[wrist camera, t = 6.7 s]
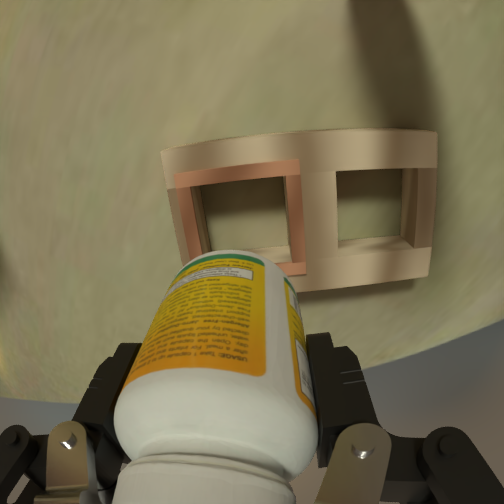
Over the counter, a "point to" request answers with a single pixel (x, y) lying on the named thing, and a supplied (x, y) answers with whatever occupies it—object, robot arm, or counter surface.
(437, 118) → the counter surface
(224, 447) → the supplement bottle
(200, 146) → the cup caddy
